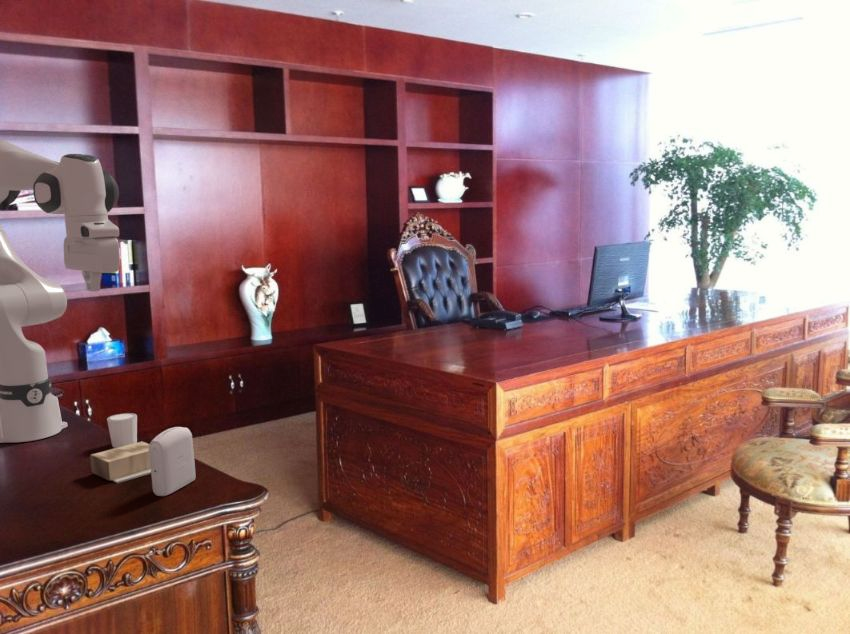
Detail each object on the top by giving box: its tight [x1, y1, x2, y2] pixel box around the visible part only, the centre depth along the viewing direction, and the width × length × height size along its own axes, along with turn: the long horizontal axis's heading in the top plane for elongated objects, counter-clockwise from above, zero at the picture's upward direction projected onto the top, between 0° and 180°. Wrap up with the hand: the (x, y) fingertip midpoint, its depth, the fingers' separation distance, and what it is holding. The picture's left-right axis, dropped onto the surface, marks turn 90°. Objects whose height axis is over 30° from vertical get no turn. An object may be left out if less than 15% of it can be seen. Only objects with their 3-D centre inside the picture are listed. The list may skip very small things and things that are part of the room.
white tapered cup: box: [106, 412, 138, 448], centre depth 196 cm, size 7×7×7 cm
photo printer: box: [149, 426, 197, 497], centre depth 165 cm, size 10×4×12 cm, turn 158°
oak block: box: [89, 440, 151, 481], centre depth 177 cm, size 8×4×12 cm
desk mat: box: [111, 468, 151, 484], centre depth 178 cm, size 12×13×1 cm
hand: (93, 291), depth 180 cm, fingers closed
